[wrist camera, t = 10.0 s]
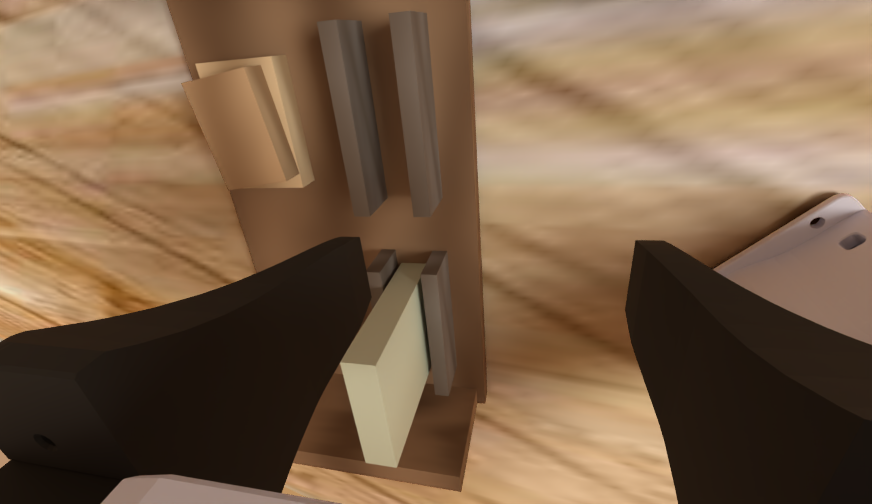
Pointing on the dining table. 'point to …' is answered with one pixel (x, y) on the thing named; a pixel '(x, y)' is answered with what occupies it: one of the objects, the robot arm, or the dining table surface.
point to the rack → (374, 189)
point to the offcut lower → (285, 105)
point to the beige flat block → (389, 367)
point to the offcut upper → (242, 127)
